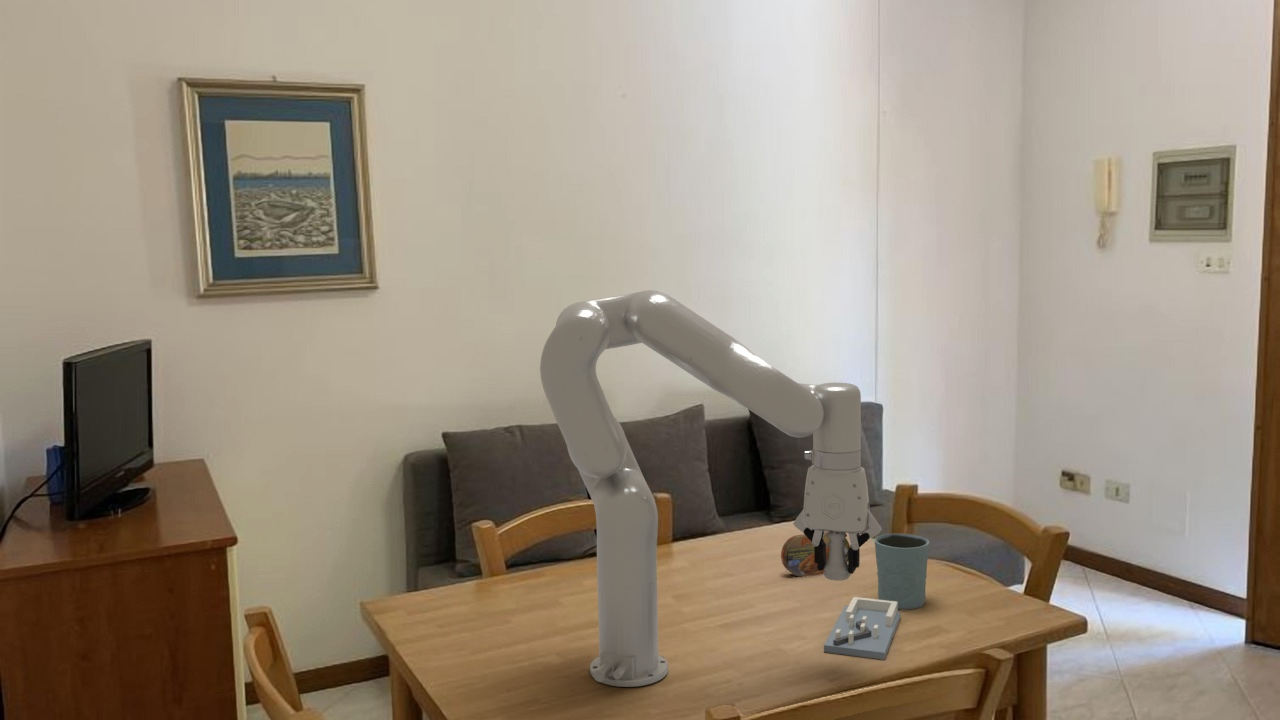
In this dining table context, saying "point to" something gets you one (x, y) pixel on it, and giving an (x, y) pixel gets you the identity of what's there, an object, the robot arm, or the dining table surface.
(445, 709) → the dining table surface
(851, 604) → the board
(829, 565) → the rook chess piece
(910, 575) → the teal cup
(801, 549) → the tin
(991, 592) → the dining table surface
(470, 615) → the dining table surface
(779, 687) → the dining table surface
